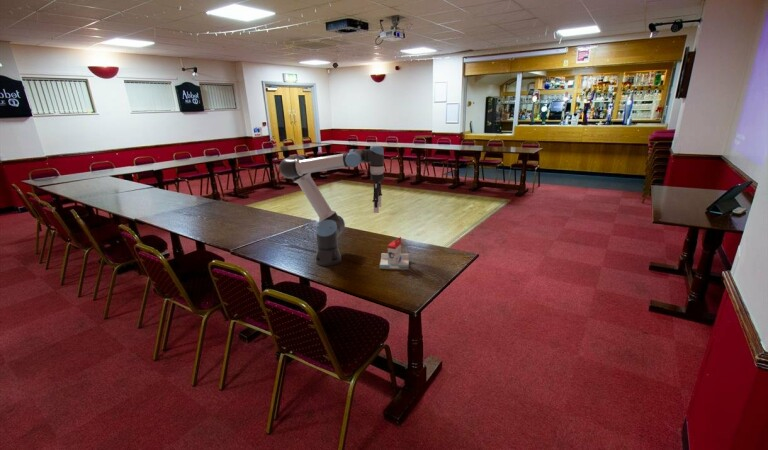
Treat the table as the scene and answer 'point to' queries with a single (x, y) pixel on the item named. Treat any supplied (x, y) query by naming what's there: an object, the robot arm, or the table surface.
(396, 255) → the ink box
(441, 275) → the table surface
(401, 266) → the shelf
